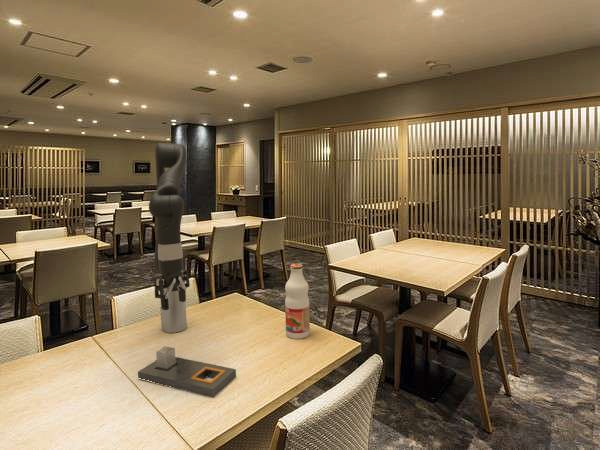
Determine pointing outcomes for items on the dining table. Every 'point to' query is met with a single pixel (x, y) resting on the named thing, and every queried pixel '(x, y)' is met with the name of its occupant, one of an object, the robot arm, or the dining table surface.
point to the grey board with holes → (190, 376)
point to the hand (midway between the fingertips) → (174, 305)
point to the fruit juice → (297, 304)
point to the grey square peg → (166, 358)
